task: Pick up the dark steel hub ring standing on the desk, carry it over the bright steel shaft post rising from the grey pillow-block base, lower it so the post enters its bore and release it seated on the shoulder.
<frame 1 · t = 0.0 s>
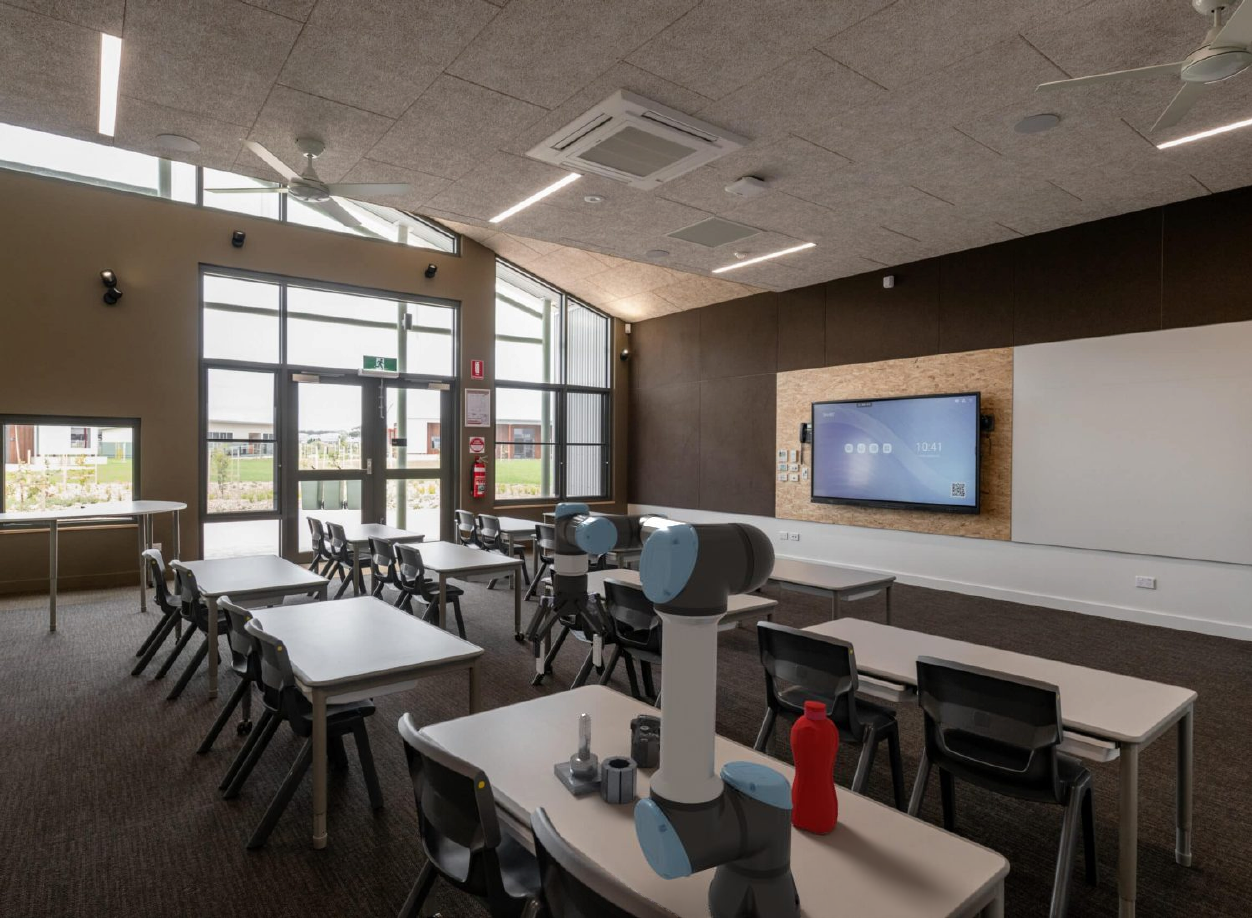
hand: (569, 668, 152), 28 cm above the table, fingers open, 13 cm apart
camera: (644, 757, 172), on the table
water bottle: (813, 822, 143), on the table
shaft block: (583, 779, 159), on the table
hub: (618, 795, 152), on the table
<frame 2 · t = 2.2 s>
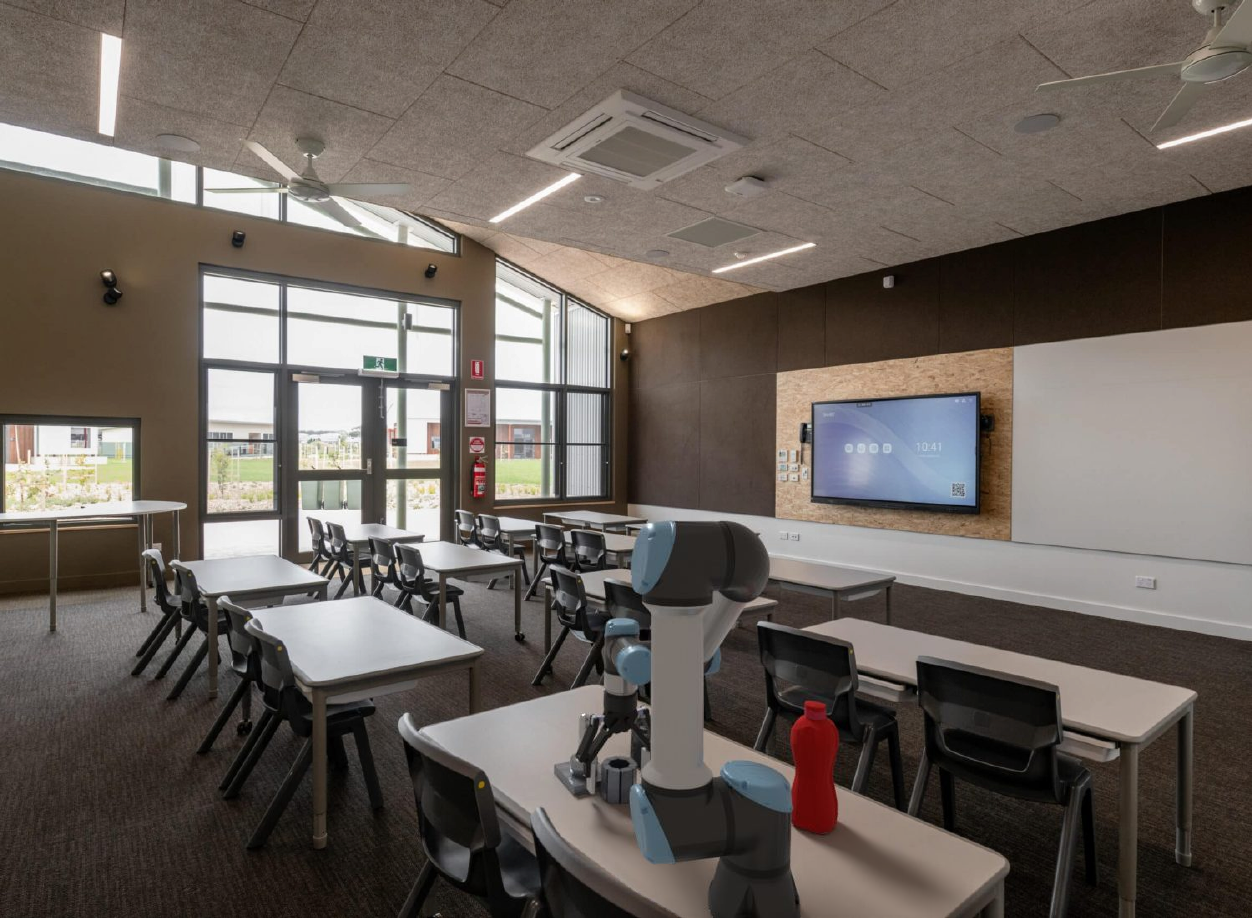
hand: (618, 784, 152), 2 cm above the table, fingers open, 13 cm apart
nothing on the table moved.
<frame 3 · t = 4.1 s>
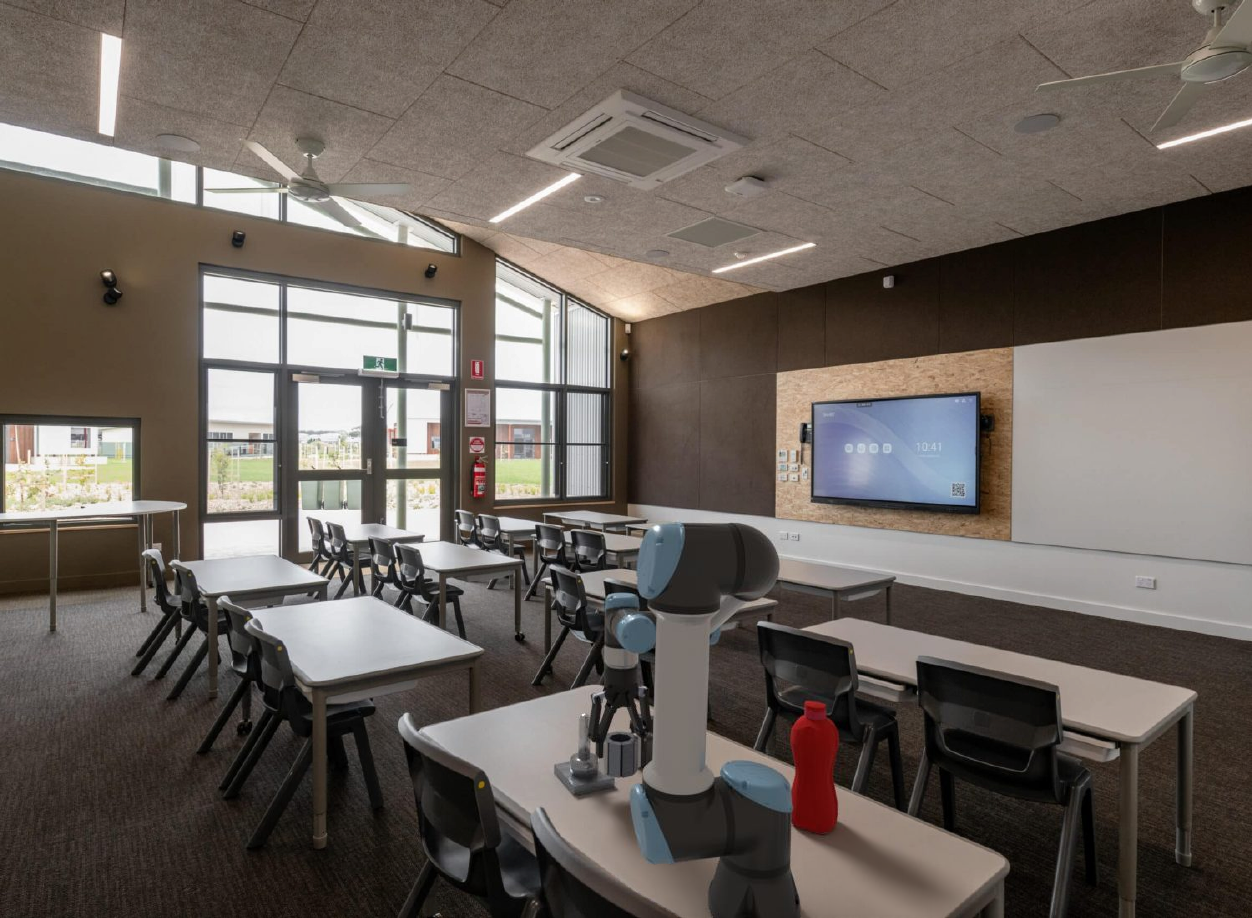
hand: (619, 768, 151), 6 cm above the table, fingers closed on hub, 7 cm apart
hub: (619, 769, 151), point 6 cm above the table, touching gripper
everything else where it was.
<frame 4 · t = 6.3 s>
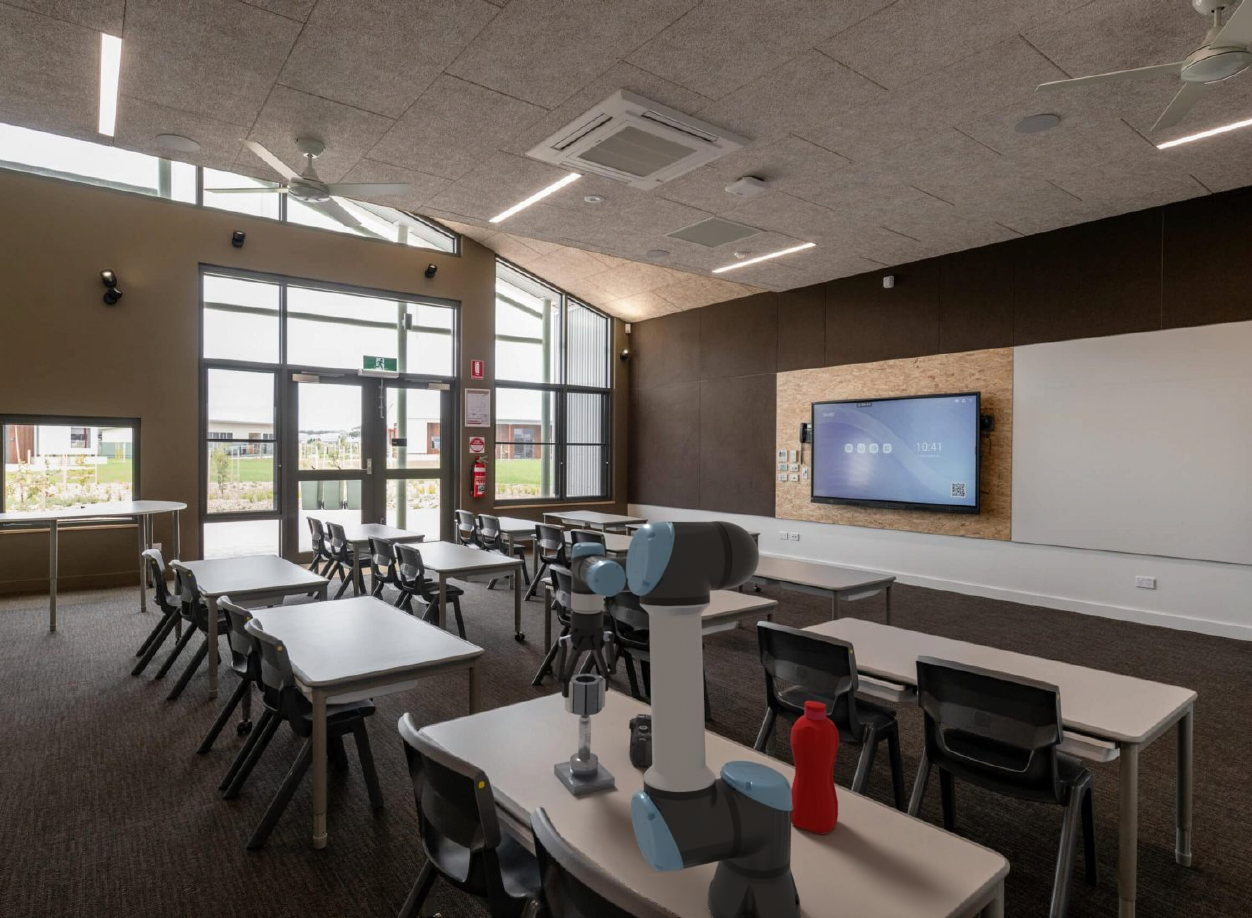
hand: (585, 707, 159), 17 cm above the table, fingers closed on hub, 7 cm apart
hub: (584, 709, 159), point 16 cm above the table, touching gripper
everything else where it was.
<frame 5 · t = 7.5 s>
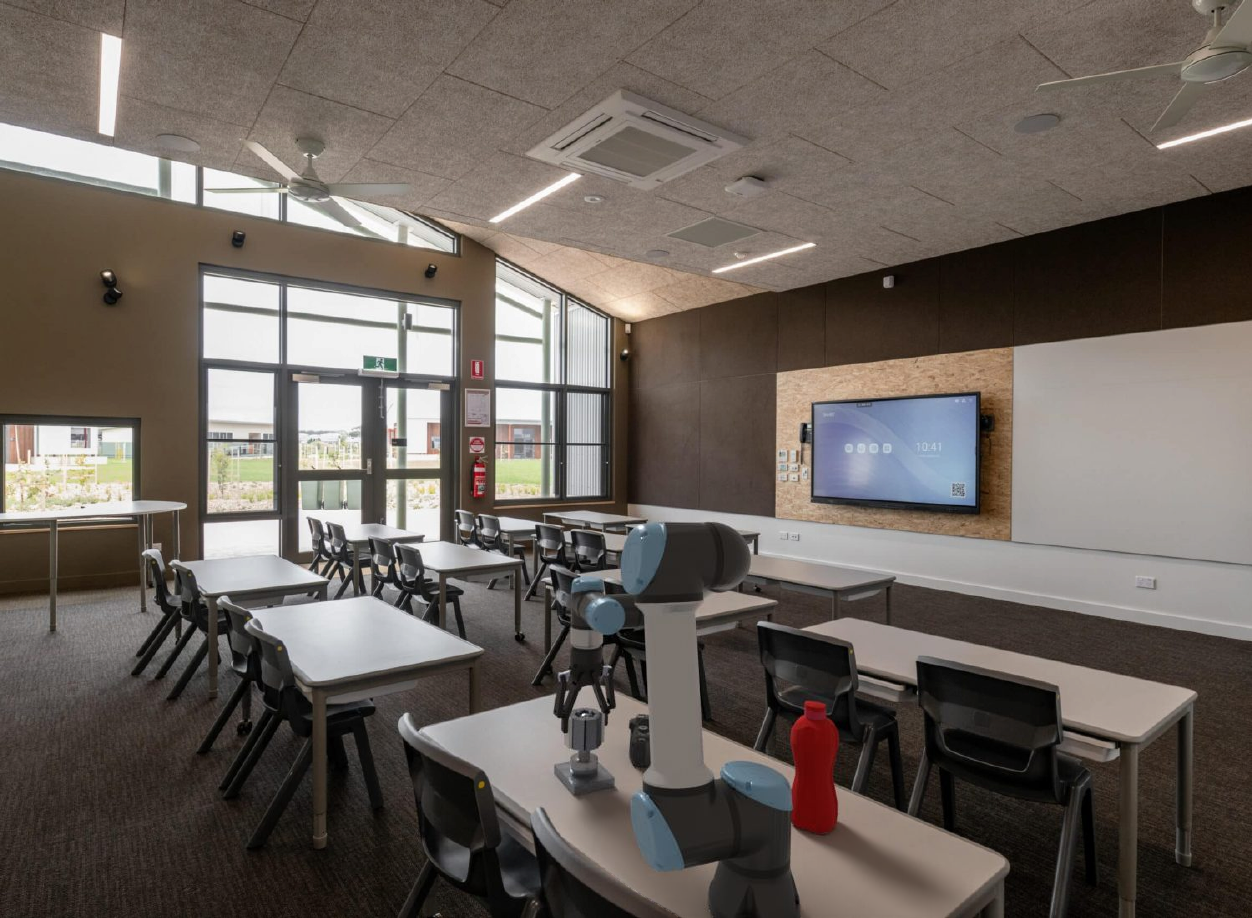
hand: (584, 742, 159), 9 cm above the table, fingers closed on hub, 7 cm apart
hub: (584, 744, 159), point 8 cm above the table, touching gripper
everything else where it was.
when the fingers open (5 cm above the table, at t = 8.7 s): hub stays where it is, resting on shaft block.
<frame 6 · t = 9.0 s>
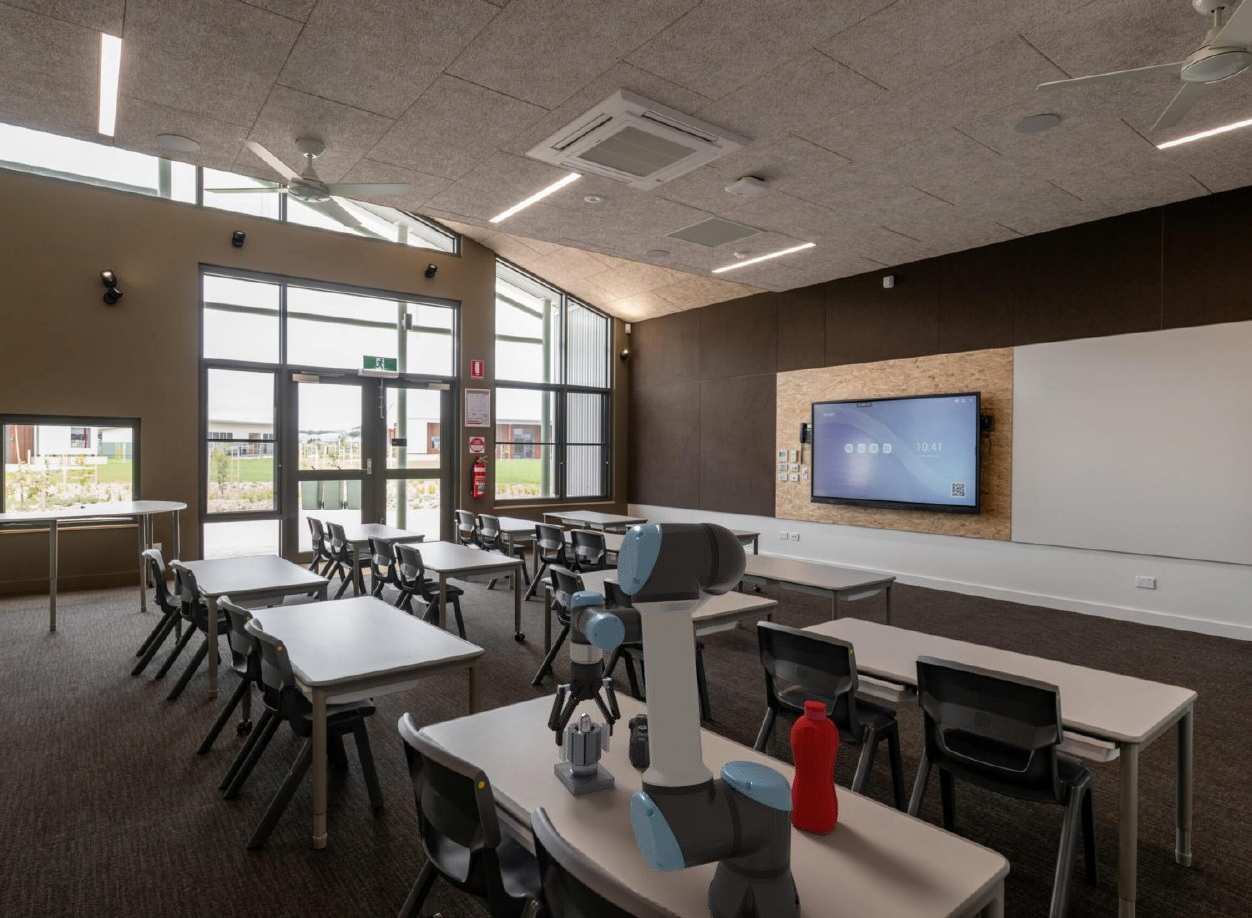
hand: (584, 754, 159), 6 cm above the table, fingers open, 10 cm apart
hub: (584, 757, 159), point 5 cm above the table, touching shaft block
everything else where it was.
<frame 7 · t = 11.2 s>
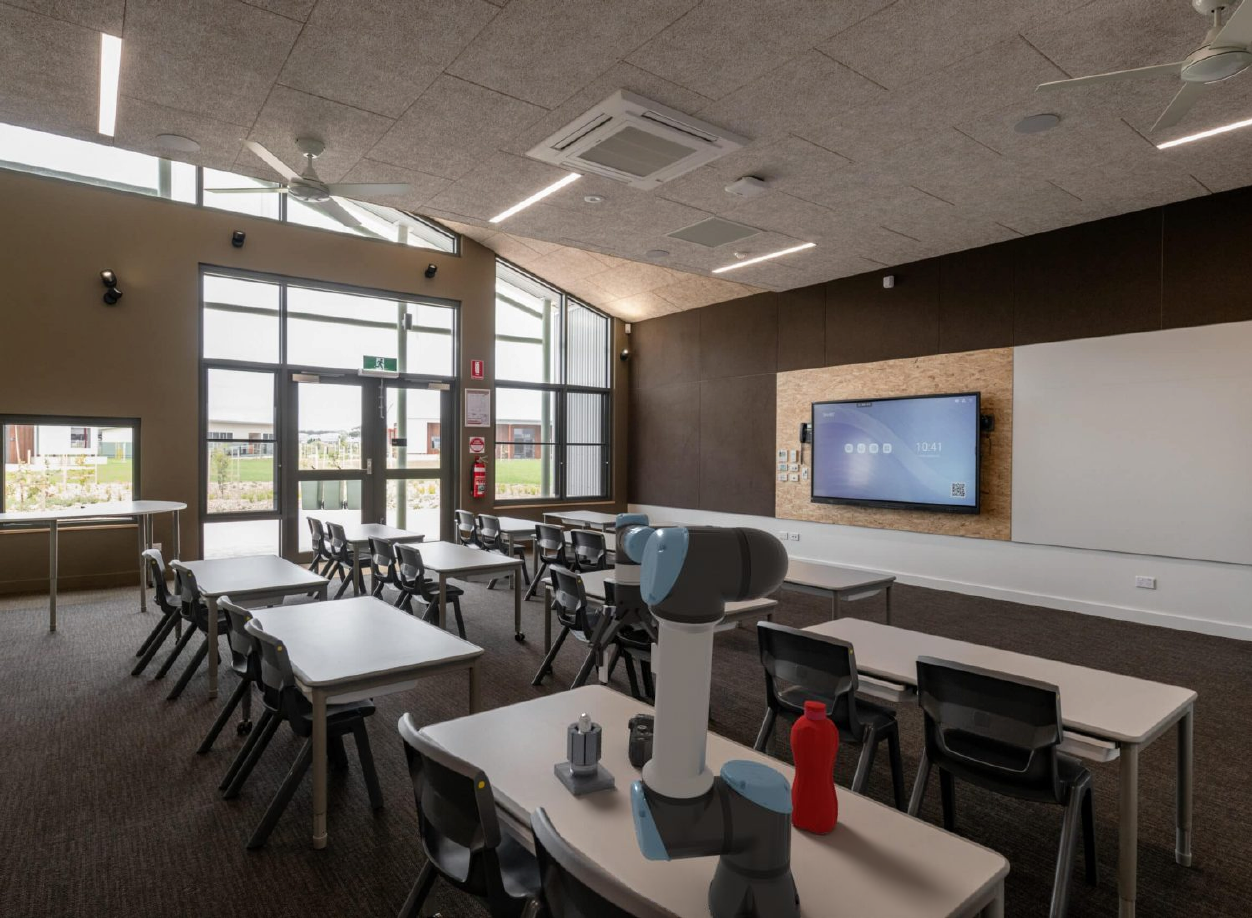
hand: (629, 676, 154), 26 cm above the table, fingers open, 13 cm apart
nothing on the table moved.
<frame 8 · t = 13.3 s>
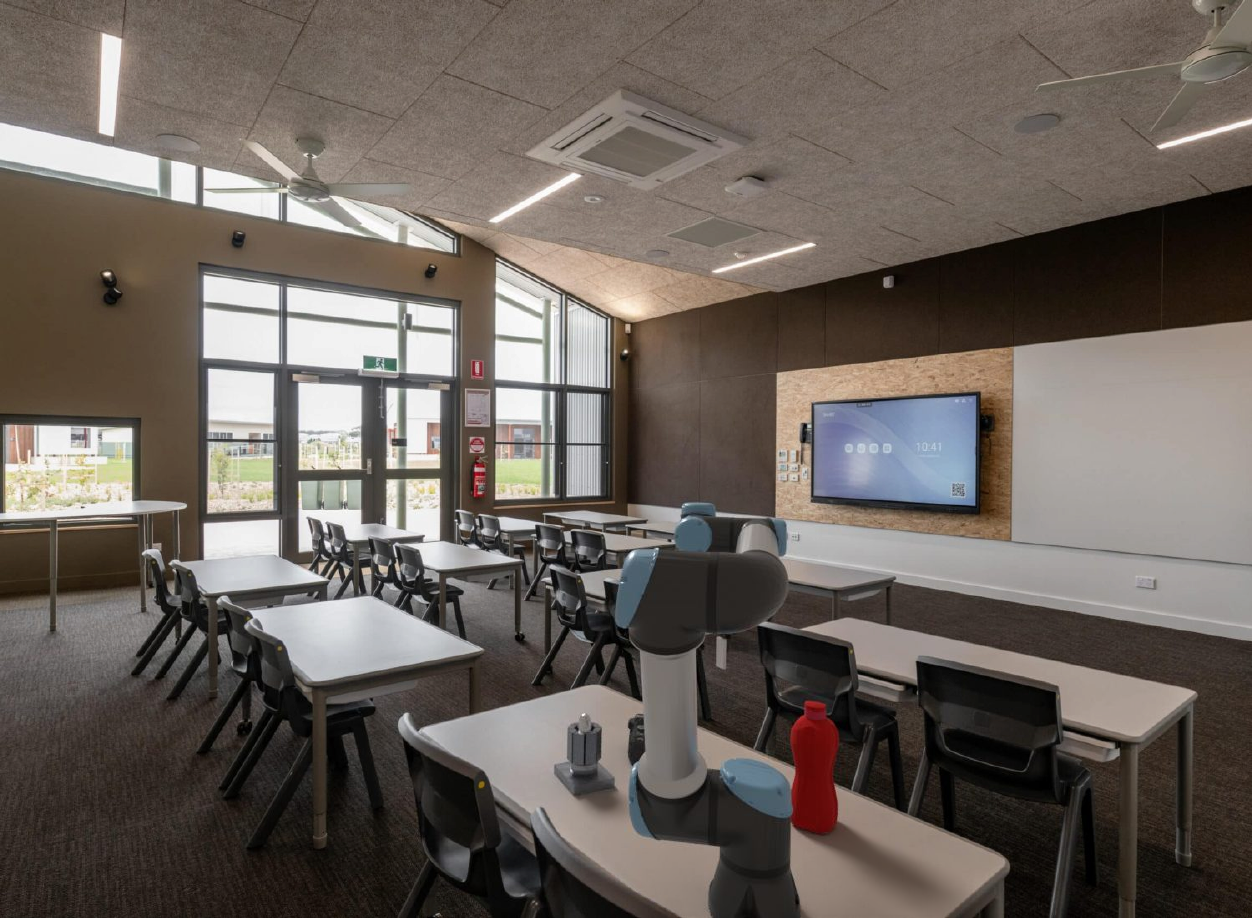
hand: (695, 671, 149), 29 cm above the table, fingers open, 13 cm apart
nothing on the table moved.
at the end: hub 0.1 cm off-centre on the shaft block, point 5.0 cm above the shaft block's base; hub tilted 0°; the gripper is holding nothing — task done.
